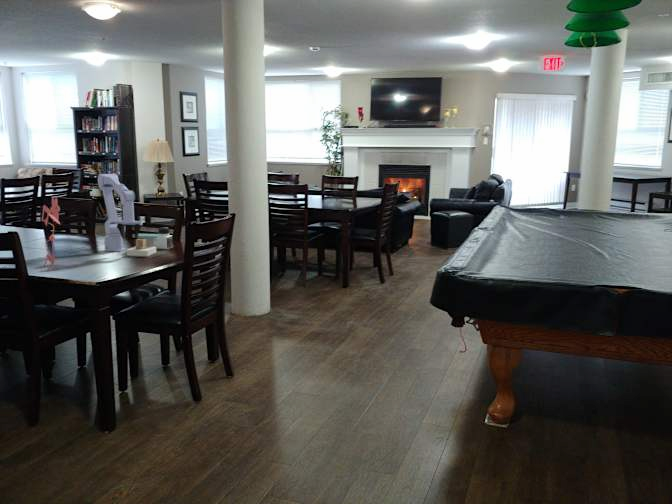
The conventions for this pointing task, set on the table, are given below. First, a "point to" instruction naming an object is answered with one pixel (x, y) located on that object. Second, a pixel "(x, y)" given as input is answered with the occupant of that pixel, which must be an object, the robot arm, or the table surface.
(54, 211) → the figurine
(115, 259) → the table surface
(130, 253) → the socket block
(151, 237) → the awning
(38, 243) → the table surface
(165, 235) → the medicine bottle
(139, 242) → the oak peg
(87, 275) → the table surface
